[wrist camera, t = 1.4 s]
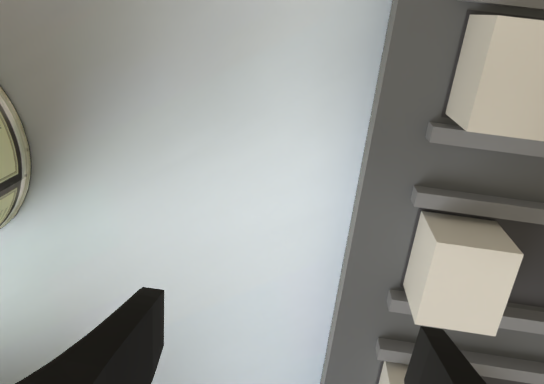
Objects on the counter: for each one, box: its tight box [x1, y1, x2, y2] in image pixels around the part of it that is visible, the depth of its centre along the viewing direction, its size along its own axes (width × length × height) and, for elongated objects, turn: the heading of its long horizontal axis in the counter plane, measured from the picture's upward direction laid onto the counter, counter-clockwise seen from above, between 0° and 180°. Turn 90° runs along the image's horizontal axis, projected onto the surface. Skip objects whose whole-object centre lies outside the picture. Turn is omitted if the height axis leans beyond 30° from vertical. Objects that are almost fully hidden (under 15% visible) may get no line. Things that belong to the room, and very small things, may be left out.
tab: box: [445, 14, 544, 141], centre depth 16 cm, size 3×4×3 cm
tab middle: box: [403, 211, 524, 336], centre depth 18 cm, size 3×4×3 cm
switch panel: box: [320, 0, 544, 384], centre depth 20 cm, size 14×21×2 cm, turn 174°
